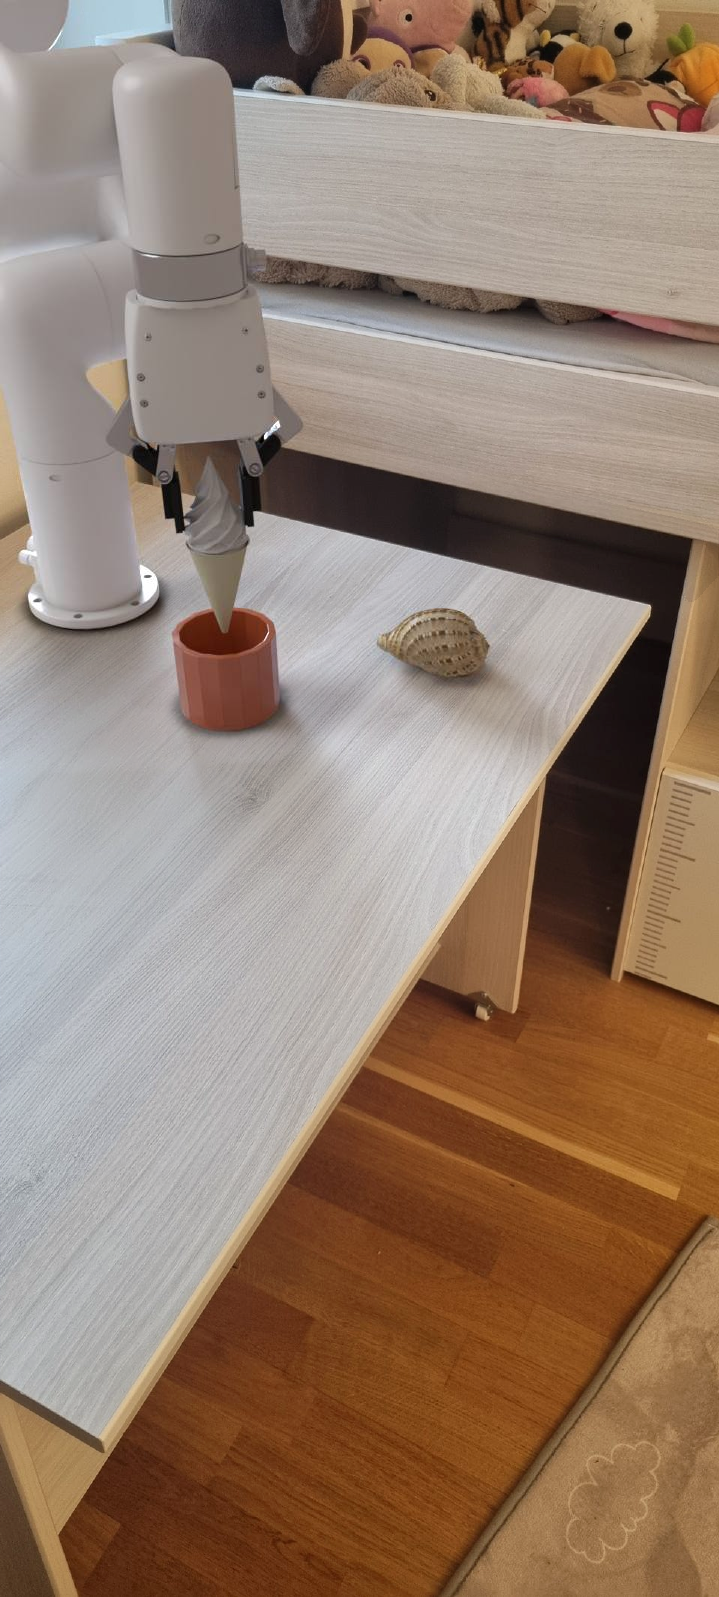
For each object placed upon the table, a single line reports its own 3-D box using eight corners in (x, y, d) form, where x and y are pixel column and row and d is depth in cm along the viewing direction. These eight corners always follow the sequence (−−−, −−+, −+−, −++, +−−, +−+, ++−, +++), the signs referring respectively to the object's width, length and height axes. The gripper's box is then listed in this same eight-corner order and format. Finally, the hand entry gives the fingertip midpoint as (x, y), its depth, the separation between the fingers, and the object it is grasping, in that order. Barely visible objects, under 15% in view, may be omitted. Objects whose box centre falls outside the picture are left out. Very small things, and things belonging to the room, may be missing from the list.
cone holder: (160, 710, 102) (151, 639, 97) (224, 667, 107) (217, 597, 103) (237, 742, 98) (230, 669, 93) (299, 695, 103) (295, 624, 99)
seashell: (392, 711, 106) (497, 677, 102) (363, 657, 103) (470, 619, 99) (402, 666, 112) (502, 631, 108) (374, 613, 109) (476, 576, 105)
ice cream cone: (194, 617, 100) (177, 443, 91) (255, 615, 100) (244, 441, 91) (193, 648, 96) (174, 469, 87) (256, 645, 96) (244, 467, 87)
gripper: (305, 251, 85) (315, 493, 96) (63, 265, 83) (102, 512, 94) (322, 278, 79) (329, 533, 90) (62, 295, 77) (103, 554, 88)
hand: (213, 520), depth 92 cm, fingers closed on ice cream cone, 4 cm apart
